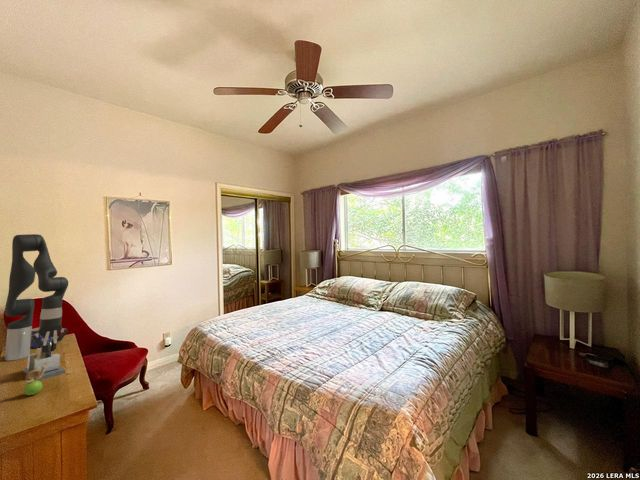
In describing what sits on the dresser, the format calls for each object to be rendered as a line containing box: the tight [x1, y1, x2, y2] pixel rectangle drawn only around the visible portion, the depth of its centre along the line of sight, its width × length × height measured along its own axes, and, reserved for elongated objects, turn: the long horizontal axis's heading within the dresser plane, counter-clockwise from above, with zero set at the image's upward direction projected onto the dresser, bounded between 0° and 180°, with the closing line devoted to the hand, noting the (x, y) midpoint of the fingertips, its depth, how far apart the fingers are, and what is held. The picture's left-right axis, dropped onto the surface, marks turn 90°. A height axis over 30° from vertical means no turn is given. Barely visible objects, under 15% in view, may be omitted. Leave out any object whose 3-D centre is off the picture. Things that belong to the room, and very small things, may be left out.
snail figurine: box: [22, 362, 47, 396], centre depth 109 cm, size 5×6×12 cm
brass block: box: [35, 347, 45, 358], centre depth 129 cm, size 4×6×10 cm, turn 62°
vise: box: [22, 352, 66, 381], centre depth 128 cm, size 18×10×8 cm, turn 62°
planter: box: [30, 326, 52, 349], centre depth 163 cm, size 11×11×11 cm
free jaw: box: [34, 341, 61, 372], centre depth 127 cm, size 4×8×14 cm, turn 152°
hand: (48, 351), depth 127 cm, fingers closed on free jaw, 2 cm apart
